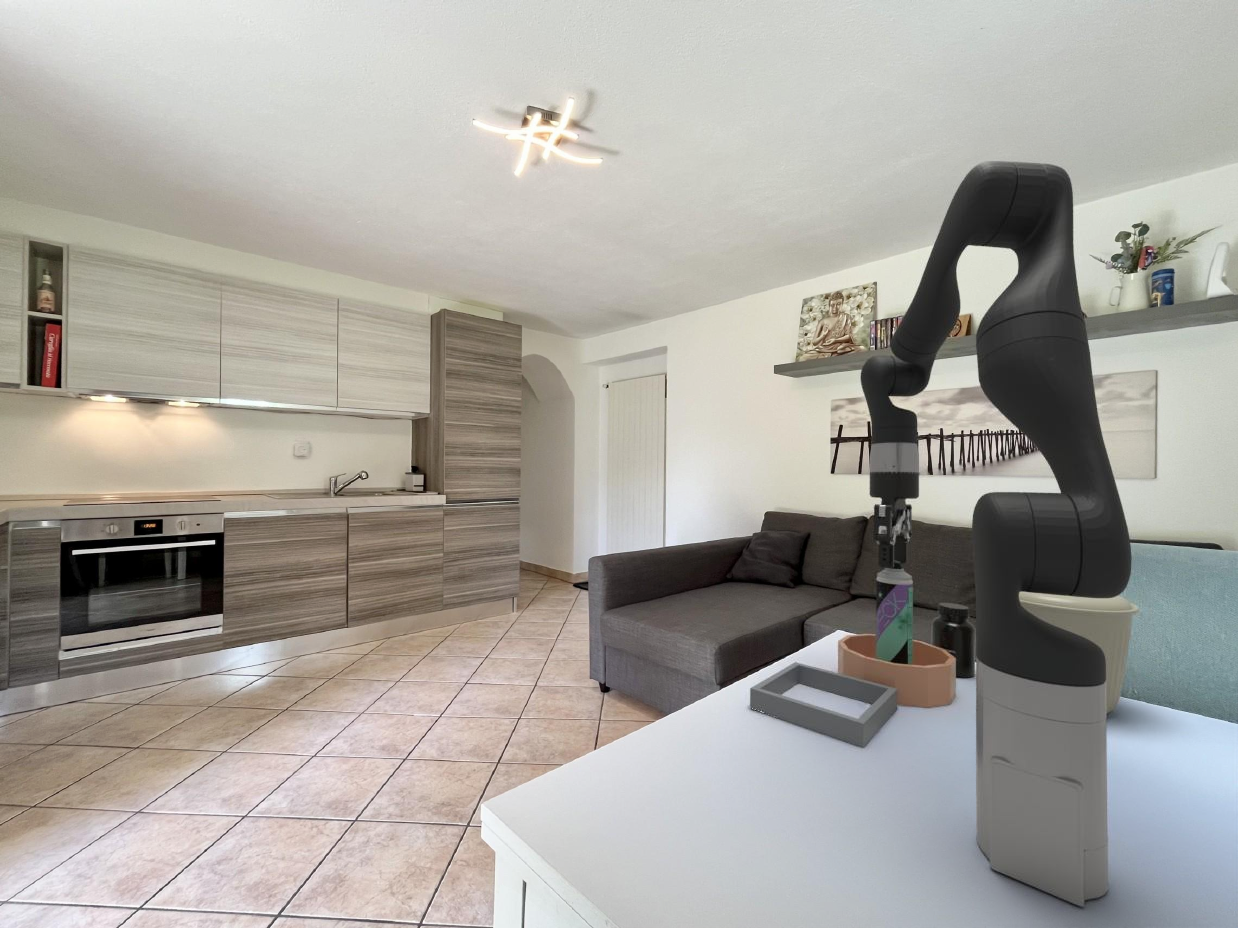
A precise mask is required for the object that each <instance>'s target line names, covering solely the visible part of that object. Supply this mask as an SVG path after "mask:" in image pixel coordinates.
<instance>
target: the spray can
mask: <svg viewBox="0 0 1238 928" xmlns="http://www.w3.org/2000/svg"><path fill="white" fill-rule="evenodd" d="M876 575H877V577H876V583H875V584H876V591H875V593H876V595H875V598H876V599H875V600H876V601H875V603H876V604H875V605H876V606H875V608H876V611H875V612H876V613H875V615H876V616H875V618H876V619H875V620H876V621H875V622H876V624H875V625H876V627H875V629H876V630H875V631H876V632H875V634H876V659H878V660H883V661H887V662H891V663H897V664H908V665H913V640H914V633H913V632H914V630H913V629H914V613H913V612H914V598H913V597H914V581H913V576H912V575H911V574H909V573H908V572H906V571H905V569H904V568H903V566H901V563H900V561H897V560H894V567H893V568H884V569H883V570H881V571H880V572H877V574H876Z"/></svg>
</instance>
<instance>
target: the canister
mask: <svg viewBox="0 0 1238 928" xmlns="http://www.w3.org/2000/svg"><path fill="white" fill-rule="evenodd" d="M1019 600H1020V603H1021V606H1022V607H1023V608H1025V609H1026V610H1027V611H1028V612H1030V613H1031V614H1033V615H1034V616H1036V617H1038V618H1039V619H1041V620H1043V621H1045V622H1047V623H1049V624H1052V625H1054V626H1056V627H1059V628H1062V629H1064V630H1067V631H1070V632H1072V633H1075V634H1077V635H1080V636H1082V637H1084V638H1086V639H1088V640H1090V641H1092V642H1093V643H1095V644H1096V645H1098V646H1099V647H1100V648H1101V649H1102V651H1103V652H1104V655H1105V660H1106V712H1107V714H1108V713H1111V712H1112V711H1113V710H1115V709H1116V707H1117V706H1118V704H1119V701H1120V700H1121V694H1122V689H1123V685H1124V679H1125V674H1126V667H1127V660H1128V654H1129V646H1130V638H1131V632H1132V623H1133V616H1134V615H1135V614H1138V612H1139V611H1140V607H1139V606H1138V605H1136V604H1134V603H1131V602H1129V601H1128V599H1126V598H1125V597H1122V596H1121V595H1118V596H1116V597H1113V598H1086V597H1074V596H1063V595H1052V594H1042V593H1031V592H1019Z"/></svg>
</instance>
